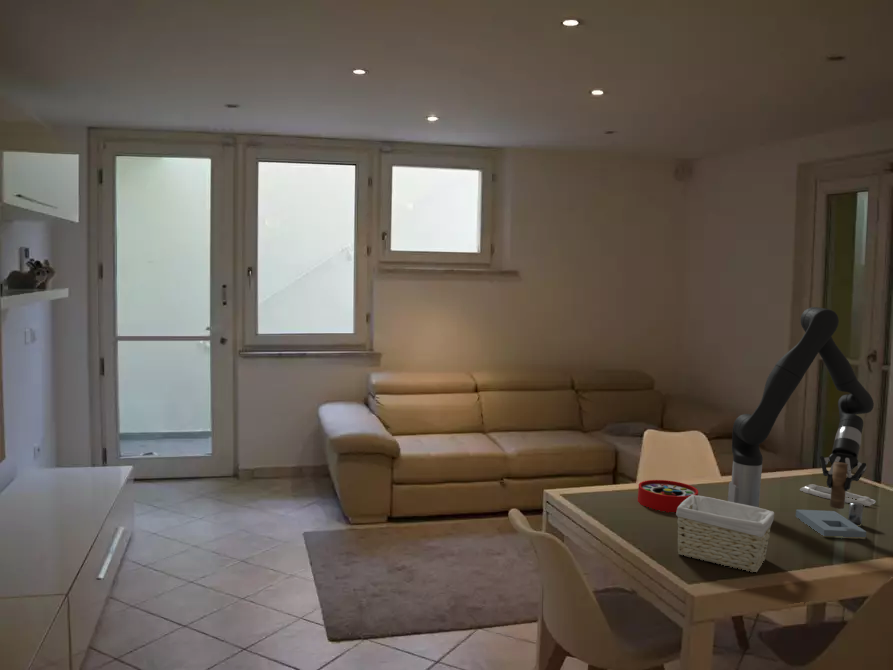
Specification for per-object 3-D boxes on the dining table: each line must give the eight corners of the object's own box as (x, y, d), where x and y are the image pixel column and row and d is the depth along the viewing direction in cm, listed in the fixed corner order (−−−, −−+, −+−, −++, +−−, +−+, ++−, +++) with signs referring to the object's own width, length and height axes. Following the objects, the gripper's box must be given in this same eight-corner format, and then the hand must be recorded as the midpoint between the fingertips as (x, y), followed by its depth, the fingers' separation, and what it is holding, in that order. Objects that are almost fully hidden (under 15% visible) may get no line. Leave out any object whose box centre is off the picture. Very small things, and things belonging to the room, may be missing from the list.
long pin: (833, 508, 246) (837, 465, 244) (827, 504, 250) (831, 461, 248) (846, 508, 246) (850, 465, 244) (840, 504, 249) (843, 462, 248)
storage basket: (772, 559, 222) (776, 509, 220) (760, 577, 208) (764, 524, 207) (687, 540, 235) (691, 492, 233) (671, 556, 221) (675, 505, 220)
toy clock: (644, 494, 261) (634, 478, 281) (643, 511, 261) (633, 494, 281) (705, 498, 259) (690, 481, 279) (703, 515, 260) (689, 497, 280)
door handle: (868, 510, 274) (796, 492, 292) (878, 505, 281) (807, 488, 299) (869, 503, 274) (797, 485, 292) (878, 498, 281) (808, 481, 299)
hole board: (823, 537, 242) (824, 529, 242) (795, 516, 262) (796, 509, 261) (865, 539, 242) (866, 531, 242) (834, 518, 262) (834, 511, 261)
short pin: (851, 526, 254) (853, 505, 254) (845, 522, 258) (847, 501, 258) (863, 526, 254) (865, 505, 254) (857, 522, 258) (859, 502, 258)
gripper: (822, 433, 256) (812, 477, 247) (871, 440, 247) (862, 486, 239) (824, 446, 260) (814, 490, 252) (872, 453, 252) (863, 499, 244)
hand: (837, 487), depth 245 cm, fingers closed on long pin, 4 cm apart
